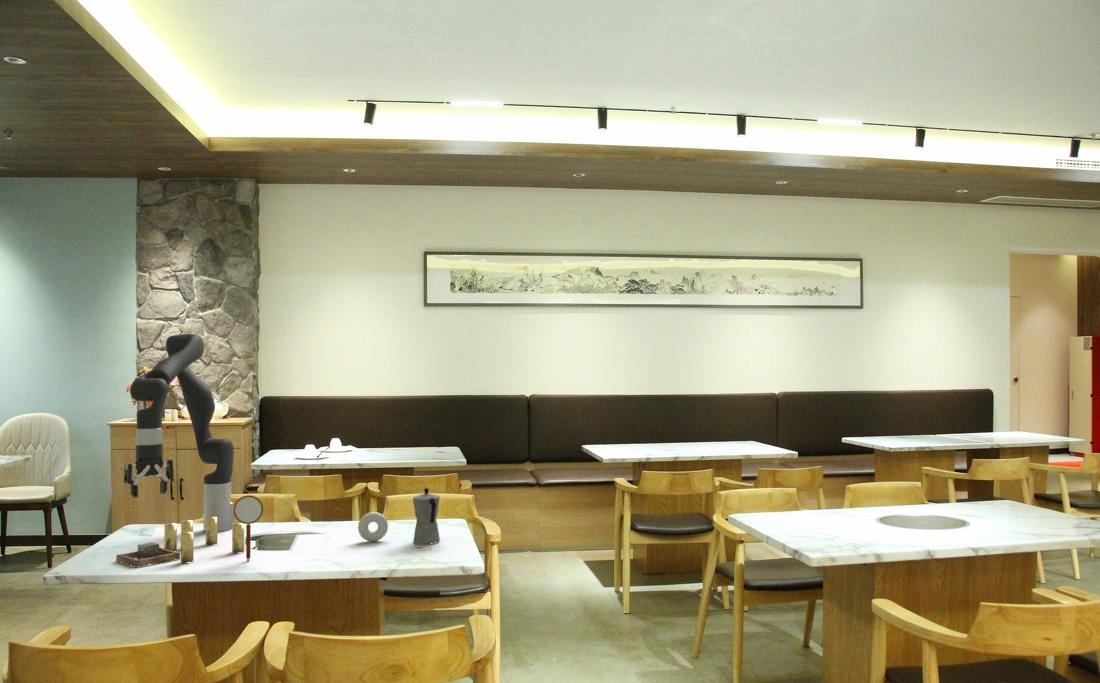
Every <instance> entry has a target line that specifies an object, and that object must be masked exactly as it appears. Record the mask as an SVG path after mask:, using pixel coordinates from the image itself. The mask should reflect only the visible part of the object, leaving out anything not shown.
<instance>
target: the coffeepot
mask: <svg viewBox="0 0 1100 683" xmlns="http://www.w3.org/2000/svg"><path fill="white" fill-rule="evenodd" d="M429 489H430V488H428V487H425V488H424V489H423V490H424V493H422V494H419V495H415V496H413V498H412V500H413V501H412V502H413V508H414V516H415V518H416V522H415V523H416V524H415V528H414V535H413V541H412V542H413V544H415V543H418V544H417V545H420V544H428V545H432V544H431V543H435V542H438V543H440V541H441V540H440V533H439V532H440V531H439V527H438V526H439V525H438V522H437V518H438V512H439V506H440V499H441V497H440V495H437V494H432V493H429ZM435 544H436V543H435Z"/></svg>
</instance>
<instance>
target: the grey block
mask: <svg viewBox="0 0 1100 683" xmlns="http://www.w3.org/2000/svg"><path fill="white" fill-rule="evenodd" d="M159 547H160V543H156V542H152V541H151V542H146V543H141V544H137V551H138V558H137V559H138V560H140V559H145V558H151V557H156V556H160V555H159Z"/></svg>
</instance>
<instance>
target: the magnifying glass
mask: <svg viewBox="0 0 1100 683" xmlns="http://www.w3.org/2000/svg"><path fill="white" fill-rule="evenodd" d="M263 512H264V504H263V502H262V501H261V500H260V499H259V498H258V496H255V495H250V494H249V495H244V496H242V497H239V499H237V501H236V502H235V504H234V505H233V516H234V517H235V519H236V520H237V521H238V522H239V523H244V525H246V526H245V527H246V528H245V529H246V533H245V537H246V540H245V541H246V542H245V545H246V546H245V547H246V548H245V549H246V550H245V551H246V554H245V557H246V561H247V562H249V561H250V558H251V524H254V523H255V522H258V520H260V519H261V517H262V515H263Z"/></svg>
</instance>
